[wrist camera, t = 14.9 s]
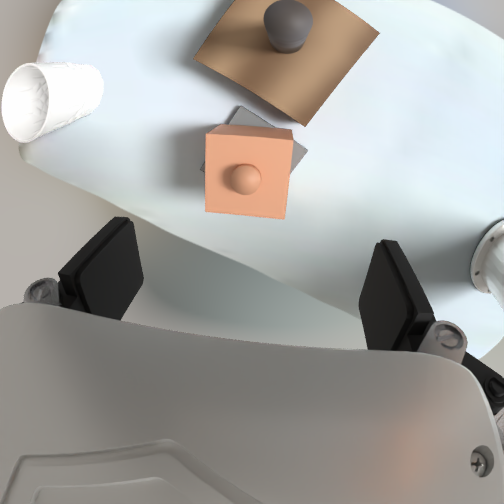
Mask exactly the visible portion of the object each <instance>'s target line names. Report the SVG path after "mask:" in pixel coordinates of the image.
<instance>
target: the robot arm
mask: <svg viewBox="0 0 504 504" xmlns="http://www.w3.org/2000/svg"><path fill="white" fill-rule="evenodd" d="M470 272H471V279H472V282H473V283H474V285H475V287H476V288H477V289H478V290H479V291H481V292H483V293H492V294H493V296H494V297H495V299H496V300H497V302H498V303H499V305H500V306H501V308H502V309H503V311H504V220H502V221H501V222H499V223H497V224H496V225H495V226H493V227H492V228H491V229H490V230H489V231H488V232H487V233H486V234H485V236H484V237H483V238H482V240H481V241H480V243H479V245H478V246H477V248H476V251H475V253H474V255H473V259H472V262H471V269H470ZM58 275H59V277H60V281H59V282H58V283H57V281H56V280H55V279H53V278H43V279H40V280H37V281H35V282H34V283H32V284H31V285H30V286H29V287H28V288H27V290H26V292H25V294H24V302H22V303H20V304H13V305H10V306H7V307H4V308H2V309H1V310H0V504H504V378H502V376H501V375H499V374H498V373H496V372H495V371H494V370H492V369H491V368H489V367H488V366H486V365H485V364H483V363H482V362H480V361H479V360H478V359H476V358H475V357H473V356H472V355H470V354H469V353H467V352H466V348H467V343H468V342H467V338H466V336H465V334H464V332H463V331H462V330H461V329H460V328H459V327H458V326H456V325H455V324H453V323H451V322H448V321H437V322H436V319H435V317H434V315H433V314H434V312H433V310H432V308H431V306H430V304H429V301H428V299H427V297H426V295H425V293H424V291H423V289H422V287H421V285H420V283H419V281H418V279H417V277H416V275H415V273H414V271H413V269H412V268H411V266H410V264H409V262H408V260H407V258H406V256H405V255H404V253H403V251H402V249H401V247H400V246H399V244H398V242H397V241H392V240H384V239H383V240H381V242H380V243H376V245H375V249H374V252H373V256H372V259H371V263H370V266H369V270H368V273H367V276H366V279H365V283H364V286H363V289H362V292H361V295H360V299H359V310H360V314H361V319H362V324H363V328H364V333H365V338H366V343H367V347H368V350H360V349H335V348H318V347H304V346H292V345H280V344H269V343H259V342H250V341H240V340H233V339H225V338H218V337H210V336H203V335H197V334H190V333H184V332H178V331H172V330H166V329H161V328H155V327H150V326H145V325H140V324H135V323H130V322H124V321H120V320H121V318H122V317H123V315H124V313H125V312H126V310H127V308H128V307H129V305H130V303H131V302H132V300H133V299H134V297H135V295H136V294H137V292H138V290H139V289H140V287H141V286H142V284H143V279H144V277H143V272H142V267H141V262H140V257H139V251H138V246H137V240H136V235H135V229H134V224H133V222H132V221H130V219H129V218H128V217H114V218H113V219H112V220H110V221H109V222H108V223H107V224H106V225H105V226H104V227H103V228H102V229H101V230H100V231H99V232H98V233H97V234H96V235H95V236H94V237H92V238H91V239H90V240H89V241H88V243H86V244H85V245H84V247H82V248H81V250H80V251H78V252H77V253H76V254H75V255H74V257H72V259H71V260H70V261H69V262H68V263H67V264H66V265H65V266H64V267H63V268H62V269H61V270H60V271H59V272H58Z"/></svg>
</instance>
